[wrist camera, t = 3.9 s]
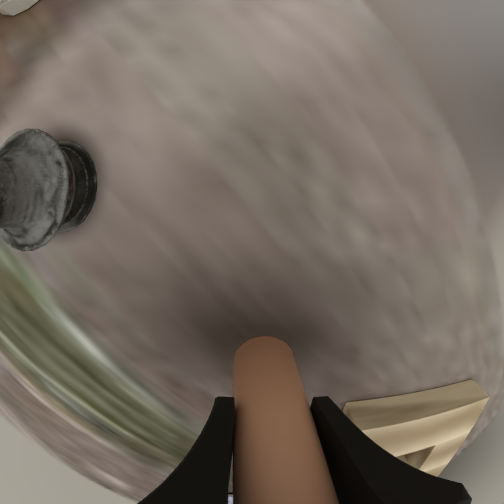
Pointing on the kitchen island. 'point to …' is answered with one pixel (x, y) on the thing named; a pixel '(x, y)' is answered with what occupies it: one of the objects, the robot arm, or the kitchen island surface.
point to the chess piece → (43, 188)
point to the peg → (275, 430)
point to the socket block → (421, 423)
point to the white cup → (15, 6)
